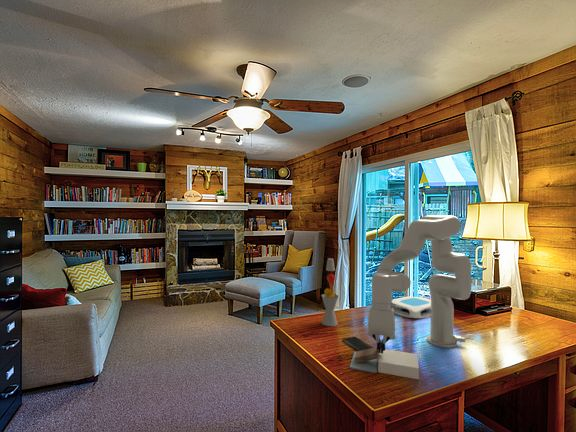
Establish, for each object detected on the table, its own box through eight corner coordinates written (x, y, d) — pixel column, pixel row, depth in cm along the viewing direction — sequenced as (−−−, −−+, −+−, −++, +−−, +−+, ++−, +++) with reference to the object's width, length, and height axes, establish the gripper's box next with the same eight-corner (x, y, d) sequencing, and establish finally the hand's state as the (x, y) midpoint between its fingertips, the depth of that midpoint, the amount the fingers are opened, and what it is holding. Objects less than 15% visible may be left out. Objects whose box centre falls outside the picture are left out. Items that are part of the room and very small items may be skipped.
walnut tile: (379, 351, 123) (377, 346, 123) (378, 358, 117) (376, 353, 117) (358, 356, 126) (356, 351, 126) (356, 362, 120) (354, 357, 120)
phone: (360, 352, 129) (341, 338, 143) (360, 355, 129) (341, 341, 143) (375, 349, 132) (355, 336, 146) (375, 352, 132) (355, 338, 146)
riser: (416, 364, 121) (417, 354, 121) (418, 379, 110) (418, 368, 110) (380, 358, 126) (380, 348, 126) (378, 372, 115) (378, 361, 114)
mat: (378, 356, 127) (378, 355, 127) (376, 373, 114) (376, 371, 114) (354, 352, 130) (354, 351, 130) (349, 368, 117) (349, 366, 117)
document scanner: (443, 312, 186) (444, 302, 186) (415, 320, 172) (415, 309, 172) (413, 304, 204) (413, 294, 204) (385, 310, 189) (385, 300, 189)
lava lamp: (332, 319, 171) (333, 257, 171) (341, 325, 163) (342, 259, 163) (318, 321, 168) (319, 257, 168) (326, 327, 160) (327, 260, 159)
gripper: (401, 304, 121) (401, 351, 121) (363, 300, 126) (362, 345, 126) (402, 310, 114) (401, 359, 114) (361, 305, 119) (360, 352, 119)
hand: (380, 351), depth 120 cm, fingers closed
